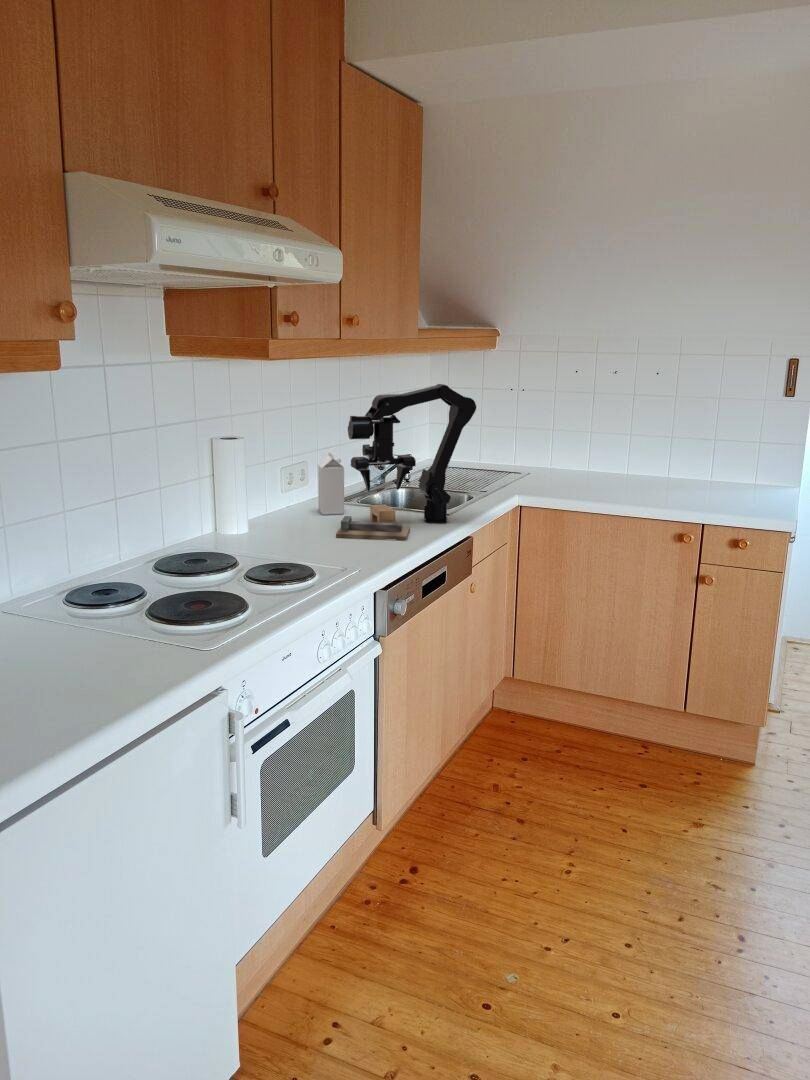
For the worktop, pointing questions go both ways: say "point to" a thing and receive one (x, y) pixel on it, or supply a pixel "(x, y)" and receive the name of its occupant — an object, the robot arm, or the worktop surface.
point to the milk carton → (331, 486)
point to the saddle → (382, 514)
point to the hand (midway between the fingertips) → (383, 490)
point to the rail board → (375, 534)
